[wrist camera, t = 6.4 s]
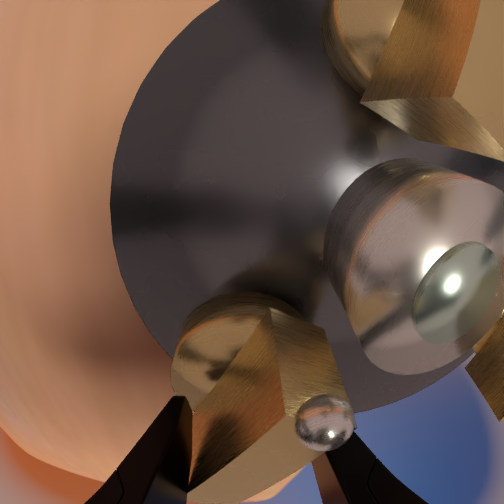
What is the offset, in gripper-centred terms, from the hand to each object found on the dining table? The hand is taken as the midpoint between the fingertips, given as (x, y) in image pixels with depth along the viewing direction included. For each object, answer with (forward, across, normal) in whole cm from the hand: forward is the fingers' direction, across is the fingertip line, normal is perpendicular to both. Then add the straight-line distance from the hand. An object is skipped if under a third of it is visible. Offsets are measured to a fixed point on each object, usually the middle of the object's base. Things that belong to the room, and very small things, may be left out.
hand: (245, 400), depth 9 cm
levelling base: (+4, -6, -4) cm, 8 cm away
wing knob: (+3, 0, 0) cm, 3 cm away
